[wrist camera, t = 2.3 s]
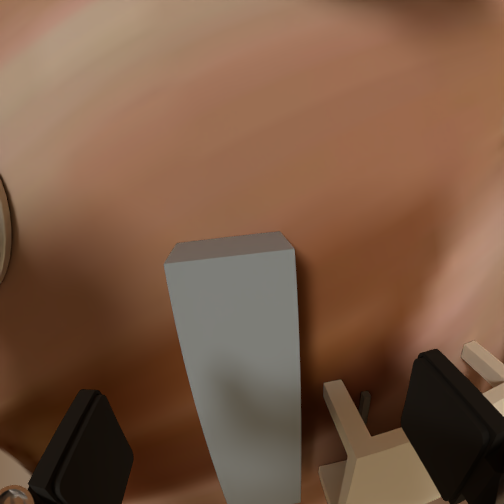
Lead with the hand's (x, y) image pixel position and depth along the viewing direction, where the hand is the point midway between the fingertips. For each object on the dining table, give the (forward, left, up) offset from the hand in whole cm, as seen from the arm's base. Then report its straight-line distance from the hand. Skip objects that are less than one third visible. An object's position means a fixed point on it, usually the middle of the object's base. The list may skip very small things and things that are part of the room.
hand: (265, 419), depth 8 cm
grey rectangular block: (+9, -1, -13) cm, 16 cm away
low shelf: (+16, +13, -13) cm, 24 cm away
